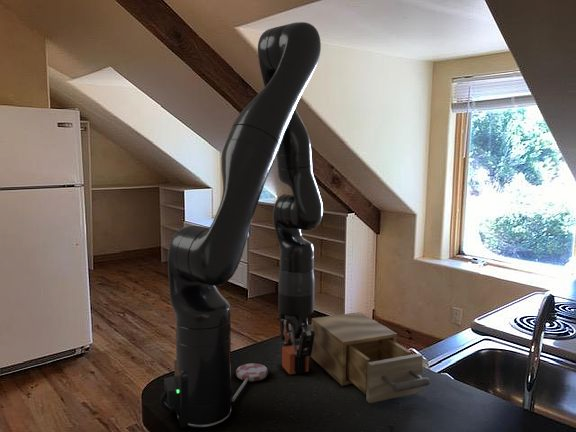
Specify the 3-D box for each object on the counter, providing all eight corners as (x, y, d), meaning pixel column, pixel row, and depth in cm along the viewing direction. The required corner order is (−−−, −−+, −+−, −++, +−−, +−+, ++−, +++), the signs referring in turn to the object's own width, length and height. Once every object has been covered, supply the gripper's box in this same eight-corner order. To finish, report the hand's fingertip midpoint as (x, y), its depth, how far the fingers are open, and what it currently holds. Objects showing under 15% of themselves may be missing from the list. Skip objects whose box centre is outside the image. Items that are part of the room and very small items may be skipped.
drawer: (438, 404, 86) (440, 366, 85) (384, 417, 82) (386, 376, 81) (381, 363, 103) (382, 331, 102) (334, 371, 99) (335, 338, 98)
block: (289, 374, 99) (289, 354, 99) (281, 366, 103) (282, 346, 103) (308, 371, 101) (309, 351, 100) (300, 363, 105) (300, 343, 104)
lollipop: (215, 395, 88) (241, 361, 103) (215, 400, 88) (241, 366, 103) (249, 399, 87) (271, 364, 101) (250, 405, 87) (271, 369, 101)
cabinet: (395, 375, 100) (397, 333, 98) (341, 385, 95) (343, 342, 94) (359, 349, 113) (360, 311, 112) (310, 357, 108) (311, 318, 107)
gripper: (327, 297, 95) (326, 379, 97) (299, 279, 108) (298, 352, 110) (293, 301, 92) (291, 385, 94) (267, 282, 105) (267, 357, 107)
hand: (295, 367), depth 102 cm, fingers closed on block, 4 cm apart
